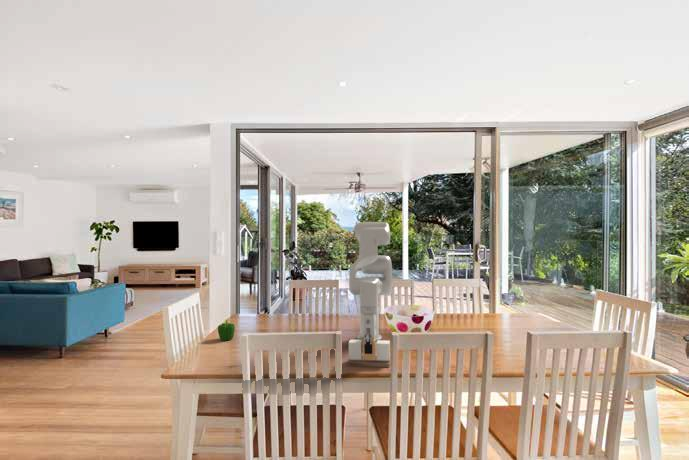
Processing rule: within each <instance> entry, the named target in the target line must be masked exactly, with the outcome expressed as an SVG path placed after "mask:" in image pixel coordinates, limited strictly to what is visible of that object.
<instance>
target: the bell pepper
mask: <svg viewBox="0 0 689 460" xmlns="http://www.w3.org/2000/svg"><path fill="white" fill-rule="evenodd" d="M228 321H229V319H225V323H221V324H219V325H218V326H217V332H218V336H219V339H220V341H223V340H224V341H231V340H233V338H234V336H235V331H236V330H235V329H236V328H235V327H236V326H235V324H234V323H230V322H228Z"/></svg>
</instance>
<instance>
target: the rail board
mask: <svg viewBox="0 0 689 460" xmlns="http://www.w3.org/2000/svg"><path fill="white" fill-rule="evenodd" d="M349 340H350V339H349ZM349 340H348V362H347V366H348V367H369V368H370V367H373V368H376V367H377V368H390V365H391V349H390V347H391V345H390V340H382V339H380V340H377V341H376V357H375V360H363V352H362V340H353V339H351V340H350V341H349Z"/></svg>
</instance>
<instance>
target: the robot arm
mask: <svg viewBox="0 0 689 460" xmlns="http://www.w3.org/2000/svg"><path fill="white" fill-rule="evenodd" d="M353 228H354V234H355V238H356V240H357V241H358V242H357V243H358V246H359V248H358V249H359V251H358V253H359V254H358V255H359V256H358V258H357V259H356V260H355V261H354V262H353V264H352V266H351V267H350V270H349V277H348V278H349V279H348V280H349V281H348V288H349V292H350V293H351V294H352V295H355V296H359V328H360V330H359V334H358V335H357V336H356V339H363V338H365V344H364V351H365V354H372V338H375V342H377V340H382V338H383V336H382V335H381V334H380V332H379V331H380V327H379V317H380V316H379V302H378V301H379V297H378V296H390V295H391V294H392V291H393V264H392V259H391V257H390V256H388V255H383V254H382V255H379V253H378V246H388V245H389V244H390V241H391V229H390V224H389V223H388V222H386V221H362V222H358V223H356V224H355V225H354V227H353ZM358 271H361V273H362V274H365V275H382V276H364V277H356V275H357V272H358Z"/></svg>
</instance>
